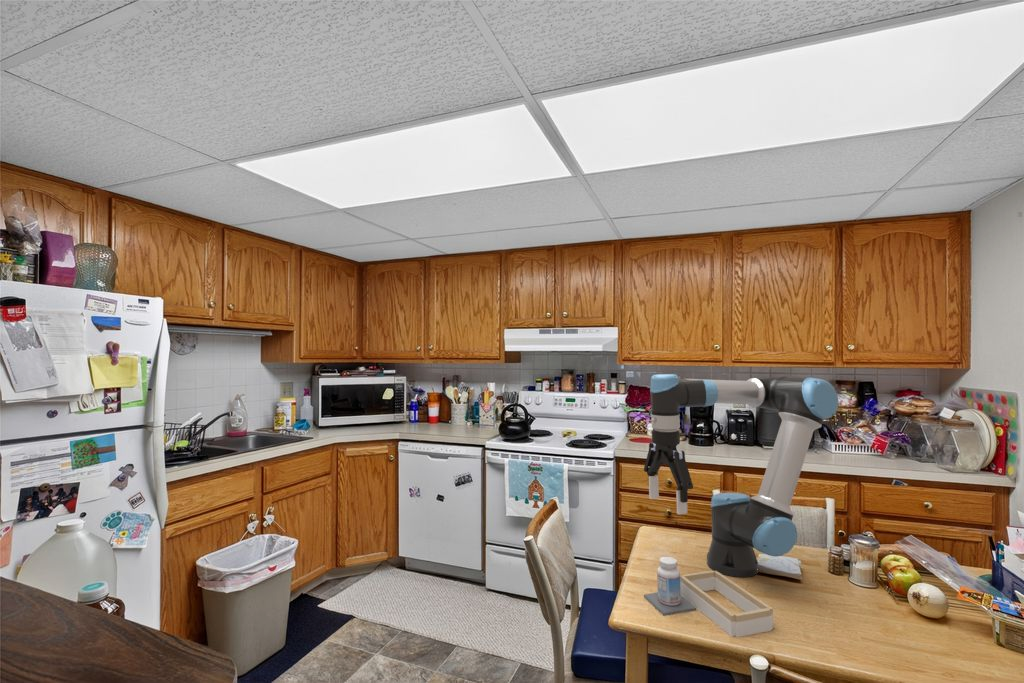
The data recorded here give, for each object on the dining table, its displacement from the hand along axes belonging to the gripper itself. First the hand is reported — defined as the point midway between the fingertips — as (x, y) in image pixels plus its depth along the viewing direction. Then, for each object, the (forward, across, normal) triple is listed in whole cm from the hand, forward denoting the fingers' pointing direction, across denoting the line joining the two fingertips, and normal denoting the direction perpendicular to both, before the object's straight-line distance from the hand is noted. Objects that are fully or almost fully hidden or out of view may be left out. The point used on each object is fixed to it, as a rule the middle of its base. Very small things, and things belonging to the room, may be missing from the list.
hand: (667, 505), depth 132 cm
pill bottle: (+26, 0, 0) cm, 26 cm away
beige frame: (+27, +8, +12) cm, 30 cm away
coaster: (+27, 0, 0) cm, 27 cm away
